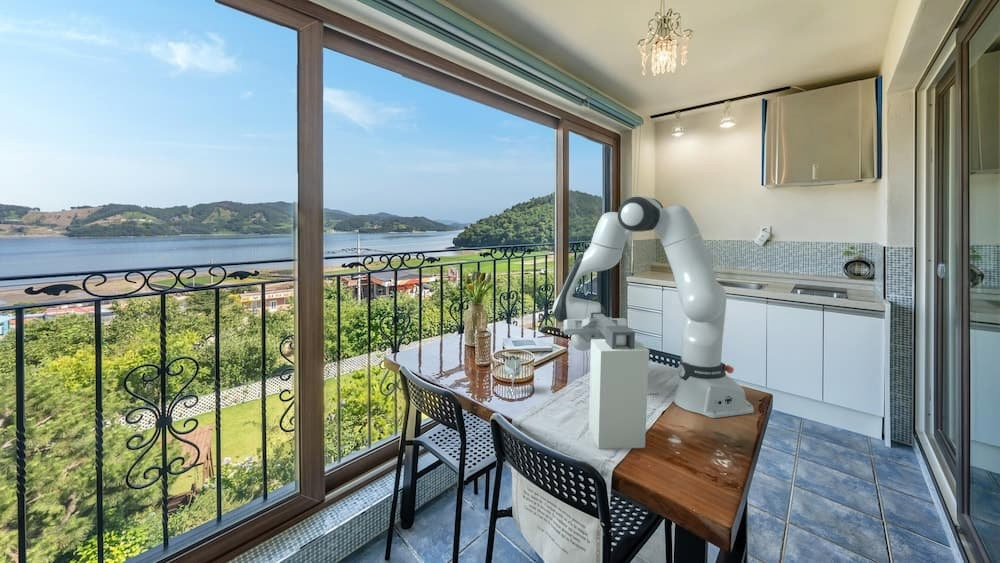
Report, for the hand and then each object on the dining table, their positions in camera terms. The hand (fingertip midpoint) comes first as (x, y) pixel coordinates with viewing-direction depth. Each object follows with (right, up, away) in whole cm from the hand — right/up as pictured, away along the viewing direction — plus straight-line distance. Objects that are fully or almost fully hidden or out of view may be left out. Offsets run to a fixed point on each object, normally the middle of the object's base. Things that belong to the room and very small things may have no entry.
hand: (600, 319), depth 120 cm
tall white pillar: (+1, -30, -13) cm, 33 cm away
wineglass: (-26, -27, +16) cm, 41 cm away
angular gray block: (0, -3, -7) cm, 8 cm away
